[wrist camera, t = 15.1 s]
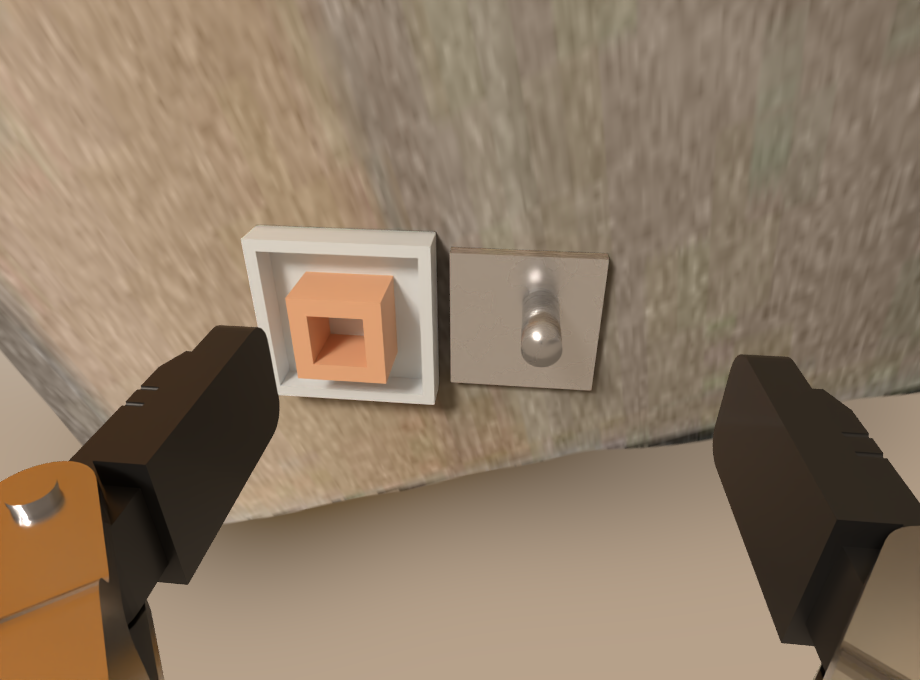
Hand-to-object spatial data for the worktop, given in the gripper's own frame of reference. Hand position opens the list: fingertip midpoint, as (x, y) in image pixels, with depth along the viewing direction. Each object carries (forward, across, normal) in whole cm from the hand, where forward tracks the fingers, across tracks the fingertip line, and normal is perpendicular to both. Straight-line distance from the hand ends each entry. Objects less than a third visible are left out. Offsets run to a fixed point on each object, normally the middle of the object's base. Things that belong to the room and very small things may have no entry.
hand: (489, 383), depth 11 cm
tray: (+28, +11, +14) cm, 33 cm away
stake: (+28, -1, +14) cm, 31 cm away
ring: (+28, +11, +14) cm, 33 cm away
